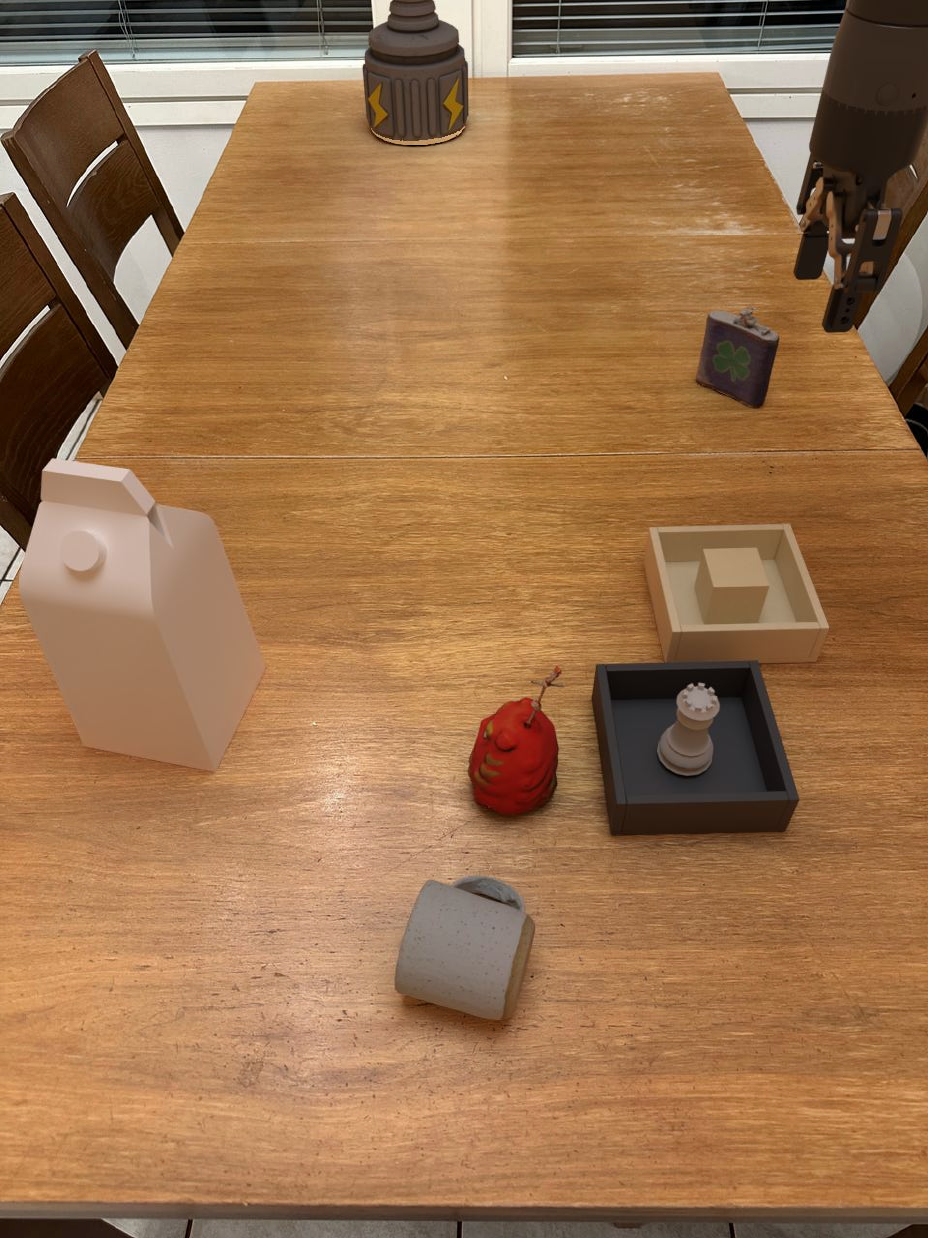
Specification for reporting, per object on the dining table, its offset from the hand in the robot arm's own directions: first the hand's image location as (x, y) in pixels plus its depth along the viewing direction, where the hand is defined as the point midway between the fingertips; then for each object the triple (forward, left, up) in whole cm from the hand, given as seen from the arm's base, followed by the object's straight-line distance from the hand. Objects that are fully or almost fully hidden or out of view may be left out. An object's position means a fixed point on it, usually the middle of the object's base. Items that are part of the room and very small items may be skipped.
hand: (820, 302), depth 77 cm
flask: (-3, -26, -26) cm, 37 cm away
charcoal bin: (+12, +27, -26) cm, 39 cm away
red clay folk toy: (+26, +29, -26) cm, 47 cm away
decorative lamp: (+36, -112, -26) cm, 121 cm away
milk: (+55, +20, -26) cm, 64 cm away
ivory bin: (+5, +10, -26) cm, 28 cm away
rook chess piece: (+12, +27, -26) cm, 39 cm away
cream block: (+5, +10, -25) cm, 28 cm away
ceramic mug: (+30, +43, -26) cm, 58 cm away
